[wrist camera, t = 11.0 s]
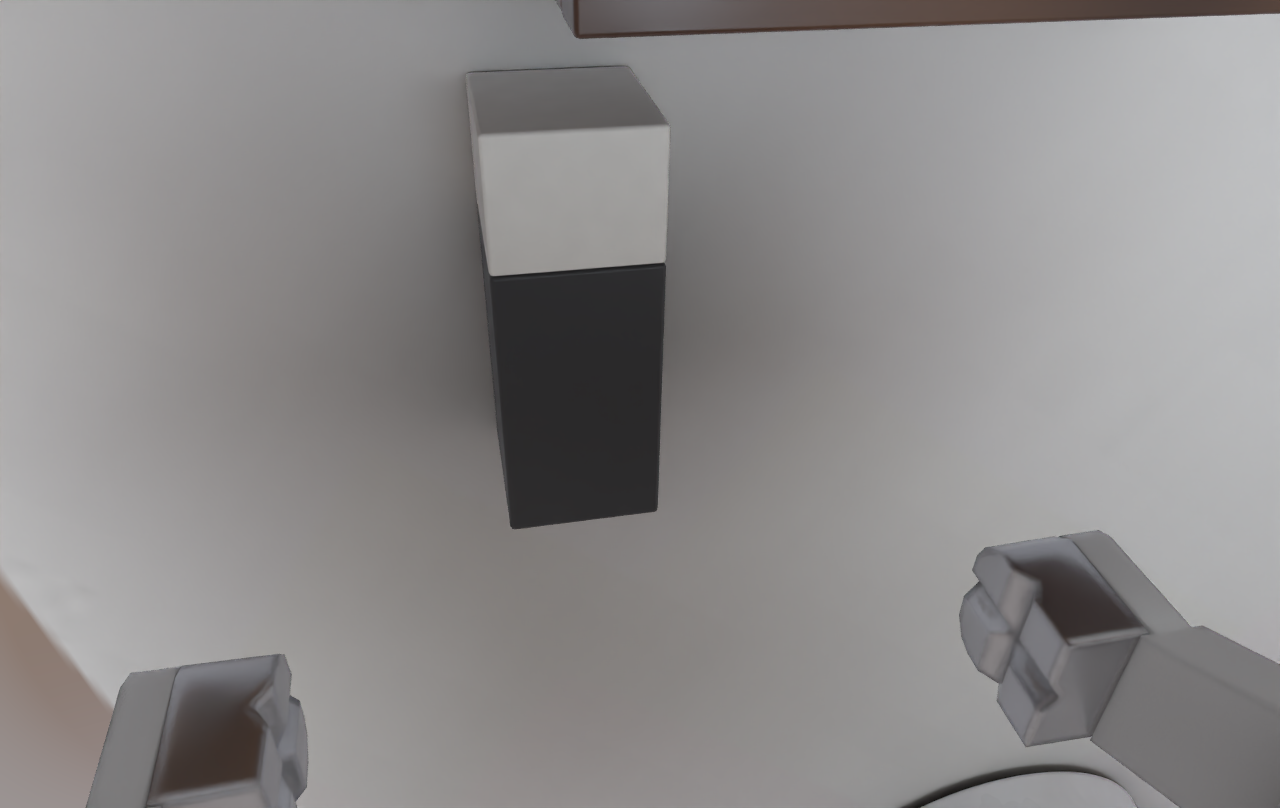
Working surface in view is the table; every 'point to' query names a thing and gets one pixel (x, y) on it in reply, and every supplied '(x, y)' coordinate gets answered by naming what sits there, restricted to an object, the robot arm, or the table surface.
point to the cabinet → (864, 14)
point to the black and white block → (573, 285)
